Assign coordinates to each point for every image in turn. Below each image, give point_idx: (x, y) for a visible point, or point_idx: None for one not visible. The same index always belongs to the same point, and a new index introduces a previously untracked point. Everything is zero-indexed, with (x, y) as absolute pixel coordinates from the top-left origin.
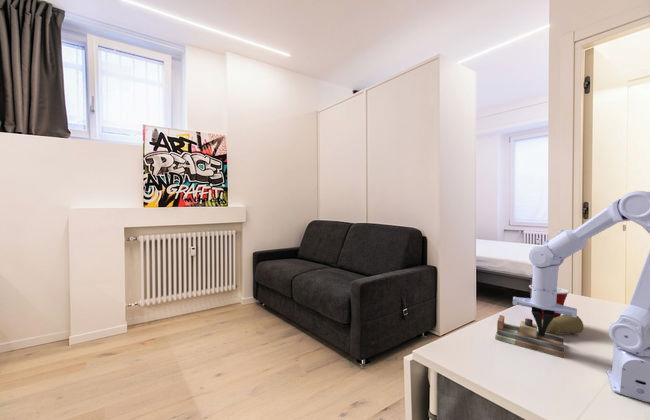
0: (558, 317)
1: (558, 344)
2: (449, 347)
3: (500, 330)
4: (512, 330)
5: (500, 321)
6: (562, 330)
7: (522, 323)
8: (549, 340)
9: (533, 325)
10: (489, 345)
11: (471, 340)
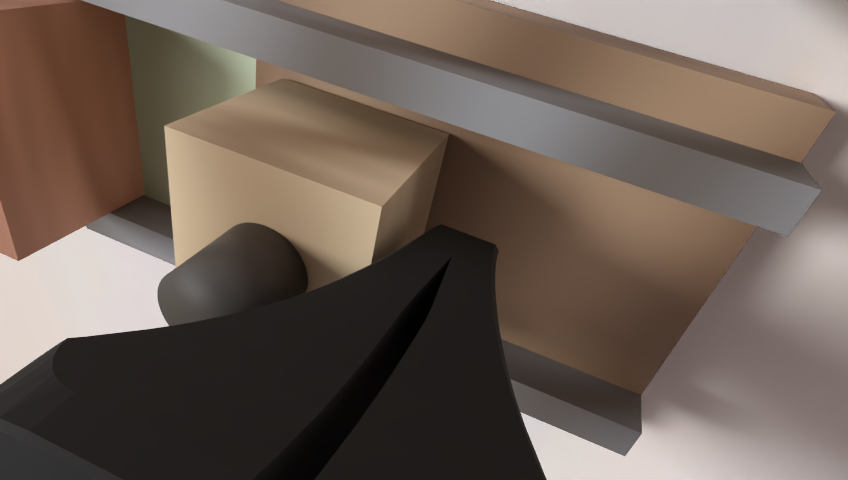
0: None
1: (651, 280)
2: (16, 370)
3: (104, 221)
4: (208, 45)
5: (3, 251)
6: None
7: (195, 230)
8: (581, 200)
9: (324, 265)
10: (141, 315)
11: (47, 275)
